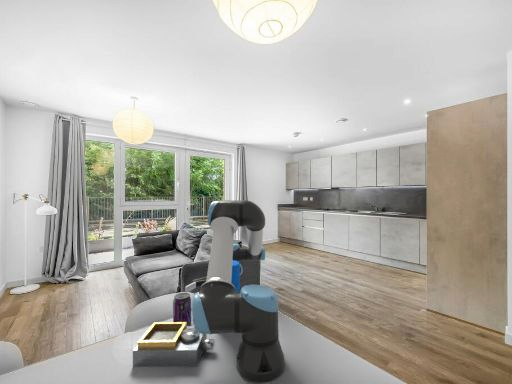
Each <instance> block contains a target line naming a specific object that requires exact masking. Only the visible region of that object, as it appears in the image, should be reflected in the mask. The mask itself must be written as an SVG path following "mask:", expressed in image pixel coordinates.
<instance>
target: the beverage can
mask: <svg viewBox="0 0 512 384" xmlns="http://www.w3.org/2000/svg"><path fill="white" fill-rule="evenodd" d="M190 295H191V294H190V293H188V292H187V293H186V292H179V293H177V294H175V295H174V298H173V300H172V310H173V312H172V318H173V319H172V322H187V326H191V324H192V298H191V296H190Z"/></svg>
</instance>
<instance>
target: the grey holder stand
mask: <svg viewBox="0 0 512 384" xmlns="http://www.w3.org/2000/svg"><path fill="white" fill-rule="evenodd" d="M207 335H208V334H200V333H197V332H196V330H195V328H194V325H188V326H187V322H173V321H170V322H169V321H167V322H166V321H164V322H163V321H161V322H160V321H159V322H157V321H156V322H155V321H154V322H152V324H151V326H149V328H148V329H147V330H146V331H145V333H144V334H143V335H142V336H141V338H139V340H137V344H136V346H135V347H134V348H133V349H132V367H133V368H141V367H142V368H145V367H146V368H147V367H148V368H149V367H155V368H157V367H158V368H159V367H162V368H165V367H166V368H167V367H170V368H171V367H172V368H173V367H174V368H175V367H181V368H182V367H198V365H199V361H200V359H201V355H202V353H203V351H210V350H211V351H213V350H215V349H214V348H215V343H216V342H215V339H214V338H209V339H208V338H207Z"/></svg>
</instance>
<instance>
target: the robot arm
mask: <svg viewBox="0 0 512 384" xmlns="http://www.w3.org/2000/svg"><path fill="white" fill-rule="evenodd" d="M207 225H208V226H209V227H210V229H211V231H212V239H211V240H212V241H211V246H210V252H209V253H210V254H209V259H208V266H207V267H208V268H207V273H206V276H203V277H200V278H196V279H192V280H191V282H190V284H188V285H186V286H185V287H184V288H185V292H184V293H188V292H191V291H192V290H194V289H196V288H198V287H200V291H197V292H195V293H194V294H193V297H192V302H191V316H192V322H193V326H194V328H195V330H196V332H197V333H200V334H207V335H209V336H210V335H216V334H217V335H218V334H219V335H220V334H223V335H224V334H241V340H240V343H239V347H238V350H237V353H236V358H235V365H236V366H235V367H236V370H237V372H238V374H239V375H240V376H241V377H242V378H243V379H245V380H248V381H250V382H253V383H254V382H255V383H267V382H270V381H271V382H272V381H273V380H275V379H277V378H278V377H280V376H281V375H282V374H283V372H284V370H285V366H286V364H285V363H286V362H285V360H286V359H285V354H284V351H283V348H282V345H281V342H280V338H279V337H280V336H279V335H280V334H279V332H280V331H279V309H280V308H279V307H280V306H279V301H278V299H279V297H278V295H277V292H275V290H273V289H272V288H270V287H268V286H265V285H262V284H248V285H244V286H242V287H241V288H240V292H235V286H234V285H233V284H232V283H231V278H232V262H233V260H235V261H238V262H239V266H240V276H241V275H242V274H243V272H244V271H243V270H244V268H243V266H242V264H241V263H240V262H241V261H242V262H244V261H245V262H249V261H250V262H251V261H252V262H254V261H255V262H257V261H258V262H259V261H264V260H266V248H265V247H264V246H263V235H264V230H263V229H264V228H265V226H266V215H265V214H264V212H263V210H262V208H261V207H260V206H259V205H258V204H257V203H256V202H253V201H251V200H247V199H245V200H244V199H243V200H241V199H240V200H238V199H237V200H236V199H234V200H223V199H221V200H214V201H212V202H211V203H210V204H209V207H208V211H207ZM239 227H245V228H246V229H247V230H246V231H247V247H246V246H245V247H244V246H243V247H242V246H240V244H239V243H235V242H234V241H235V233H236V232H238V230H239Z"/></svg>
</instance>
